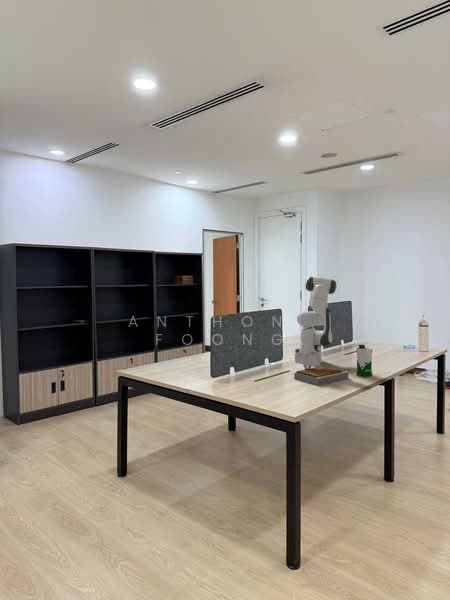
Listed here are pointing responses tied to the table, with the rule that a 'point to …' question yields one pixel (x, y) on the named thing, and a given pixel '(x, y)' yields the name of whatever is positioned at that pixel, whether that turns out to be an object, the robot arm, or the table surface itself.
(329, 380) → the bay
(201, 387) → the table surface
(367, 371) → the milk carton
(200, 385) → the table surface
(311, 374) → the diary
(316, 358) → the robot arm
